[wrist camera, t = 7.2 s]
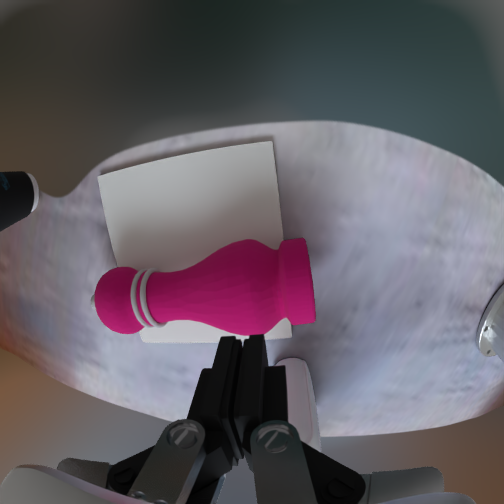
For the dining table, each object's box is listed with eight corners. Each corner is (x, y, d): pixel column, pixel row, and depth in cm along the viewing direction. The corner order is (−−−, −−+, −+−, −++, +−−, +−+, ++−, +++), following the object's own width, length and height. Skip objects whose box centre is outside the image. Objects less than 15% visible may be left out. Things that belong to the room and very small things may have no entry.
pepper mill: (303, 219, 17) (65, 261, 20) (319, 336, 16) (71, 343, 19) (303, 240, 24) (112, 269, 27) (314, 323, 23) (118, 336, 26)
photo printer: (317, 409, 30) (326, 491, 18) (283, 414, 31) (284, 497, 19) (308, 352, 27) (321, 452, 15) (267, 359, 28) (263, 459, 16)
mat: (272, 141, 21) (272, 140, 20) (291, 334, 26) (292, 337, 26) (100, 175, 22) (97, 176, 22) (144, 339, 28) (143, 342, 27)
